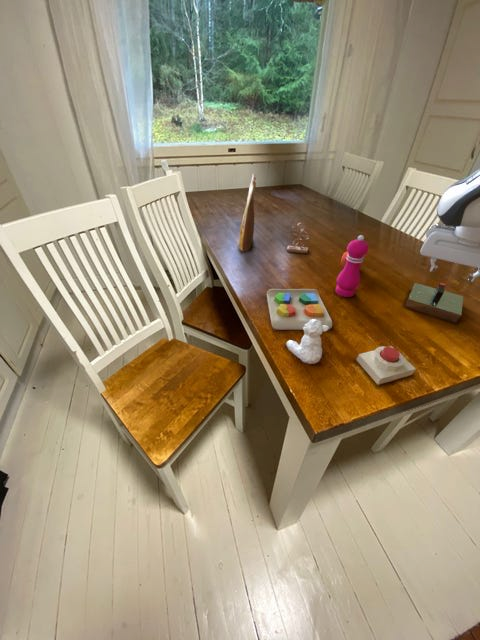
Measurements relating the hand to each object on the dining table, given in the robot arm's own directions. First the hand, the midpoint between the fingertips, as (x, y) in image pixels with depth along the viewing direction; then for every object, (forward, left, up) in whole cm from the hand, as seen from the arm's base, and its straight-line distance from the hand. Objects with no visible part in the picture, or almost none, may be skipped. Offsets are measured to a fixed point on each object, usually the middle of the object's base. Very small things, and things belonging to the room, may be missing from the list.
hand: (450, 276), depth 81 cm
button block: (+7, +37, -11) cm, 39 cm away
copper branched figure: (+54, -12, -11) cm, 56 cm away
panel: (+1, 0, -11) cm, 11 cm away
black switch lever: (+1, 0, -8) cm, 8 cm away
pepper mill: (+26, +9, -11) cm, 30 cm away
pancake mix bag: (+75, -4, -11) cm, 76 cm away
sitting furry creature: (+24, +44, -11) cm, 51 cm away
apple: (+30, -9, -11) cm, 33 cm away
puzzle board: (+35, +29, -11) cm, 46 cm away
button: (+7, +37, -7) cm, 39 cm away
